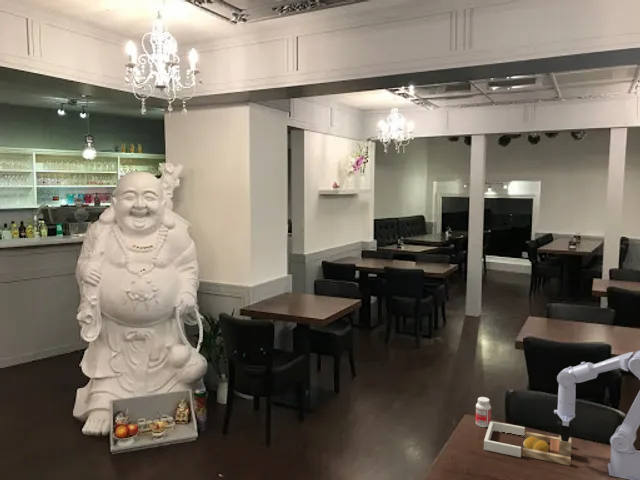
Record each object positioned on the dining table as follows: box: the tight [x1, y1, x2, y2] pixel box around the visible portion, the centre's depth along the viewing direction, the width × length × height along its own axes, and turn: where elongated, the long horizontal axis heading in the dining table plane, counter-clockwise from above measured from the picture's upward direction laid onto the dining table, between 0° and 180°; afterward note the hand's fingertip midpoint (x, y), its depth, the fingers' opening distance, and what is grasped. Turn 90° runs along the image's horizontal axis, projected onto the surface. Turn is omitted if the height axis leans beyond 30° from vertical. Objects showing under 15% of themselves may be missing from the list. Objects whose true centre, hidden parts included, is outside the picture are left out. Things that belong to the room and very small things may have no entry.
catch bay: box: [483, 420, 526, 458], centre depth 197 cm, size 13×18×4 cm
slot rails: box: [522, 431, 572, 466], centre depth 190 cm, size 16×15×2 cm
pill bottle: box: [475, 396, 492, 428], centre depth 211 cm, size 6×6×11 cm
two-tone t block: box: [549, 435, 572, 457], centre depth 188 cm, size 7×9×6 cm
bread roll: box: [522, 437, 550, 453], centre depth 192 cm, size 8×9×4 cm
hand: (564, 436), depth 187 cm, fingers open, 7 cm apart
